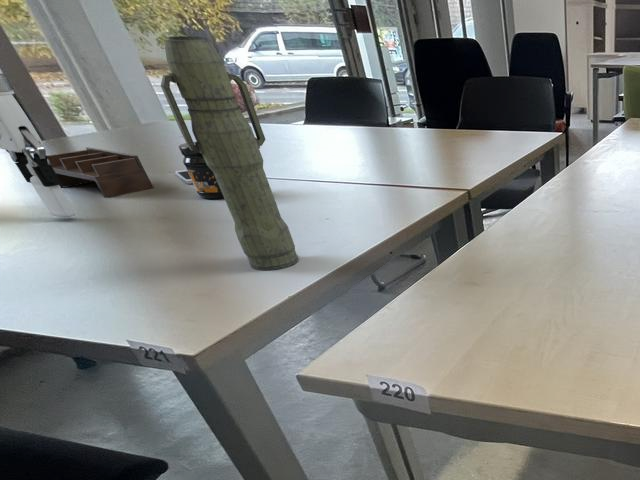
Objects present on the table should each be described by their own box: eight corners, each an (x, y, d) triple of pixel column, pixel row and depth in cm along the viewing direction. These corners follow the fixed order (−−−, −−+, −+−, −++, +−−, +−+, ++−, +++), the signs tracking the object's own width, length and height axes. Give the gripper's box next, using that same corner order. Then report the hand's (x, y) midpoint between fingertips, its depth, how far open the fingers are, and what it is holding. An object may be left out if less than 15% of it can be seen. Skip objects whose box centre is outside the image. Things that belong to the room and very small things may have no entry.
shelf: (106, 197, 133) (87, 163, 128) (58, 187, 140) (37, 154, 135) (153, 187, 142) (137, 155, 137) (105, 178, 149) (88, 147, 144)
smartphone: (202, 171, 157) (201, 167, 157) (216, 180, 149) (214, 176, 148) (176, 174, 153) (174, 170, 153) (188, 184, 145) (186, 180, 144)
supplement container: (189, 198, 135) (165, 146, 127) (221, 188, 142) (200, 139, 135) (221, 201, 133) (199, 149, 125) (252, 191, 140) (233, 142, 133)
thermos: (315, 260, 102) (238, 37, 80) (253, 276, 96) (151, 37, 73) (294, 249, 107) (216, 36, 84) (234, 264, 100) (132, 35, 77)
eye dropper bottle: (53, 219, 116) (16, 160, 108) (50, 213, 119) (14, 156, 111) (78, 216, 118) (43, 158, 110) (74, 210, 121) (40, 153, 113)
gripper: (-62, 83, 102) (3, 181, 114) (-16, 90, 97) (47, 192, 109) (-15, 80, 108) (42, 175, 119) (31, 87, 102) (86, 185, 114)
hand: (44, 182), depth 114 cm, fingers closed on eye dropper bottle, 5 cm apart
